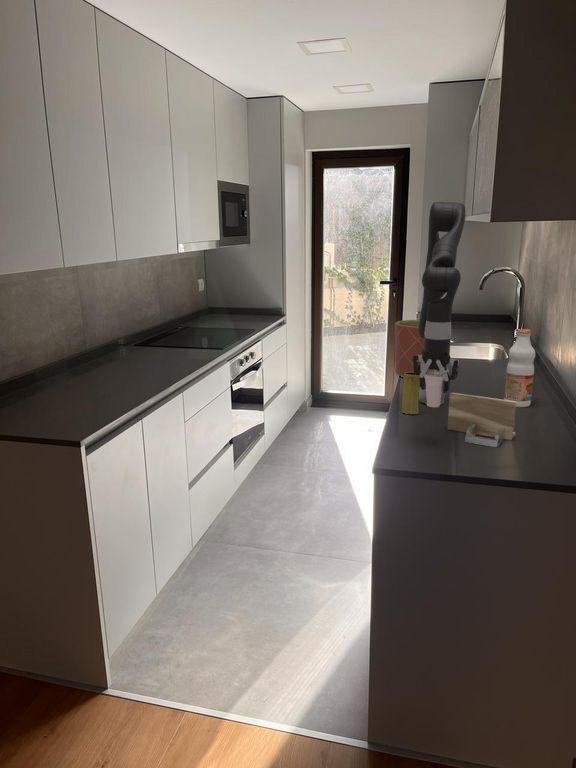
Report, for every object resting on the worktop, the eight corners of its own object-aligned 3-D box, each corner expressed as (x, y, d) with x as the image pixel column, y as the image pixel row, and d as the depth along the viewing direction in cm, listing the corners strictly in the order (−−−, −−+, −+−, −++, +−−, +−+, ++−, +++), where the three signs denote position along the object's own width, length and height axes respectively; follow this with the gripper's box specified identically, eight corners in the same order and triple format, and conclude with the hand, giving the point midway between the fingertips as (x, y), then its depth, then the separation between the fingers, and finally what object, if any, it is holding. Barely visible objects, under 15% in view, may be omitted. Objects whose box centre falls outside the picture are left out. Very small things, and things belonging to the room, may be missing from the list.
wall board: (452, 424, 196) (454, 389, 193) (515, 435, 186) (518, 398, 183) (447, 429, 192) (449, 393, 189) (511, 440, 182) (515, 402, 179)
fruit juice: (501, 400, 225) (508, 327, 218) (527, 401, 224) (535, 328, 217) (505, 407, 216) (512, 331, 210) (532, 408, 215) (540, 332, 208)
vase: (416, 409, 213) (418, 371, 210) (420, 414, 207) (422, 375, 204) (399, 410, 213) (401, 371, 209) (403, 415, 207) (405, 375, 203)
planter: (441, 370, 275) (444, 320, 269) (448, 382, 253) (452, 327, 247) (391, 369, 277) (393, 319, 271) (394, 380, 255) (397, 326, 250)
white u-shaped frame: (473, 433, 188) (473, 423, 187) (504, 438, 183) (505, 428, 182) (464, 441, 180) (465, 430, 179) (497, 447, 175) (498, 436, 175)
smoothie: (423, 408, 177) (425, 362, 173) (421, 402, 183) (424, 357, 179) (445, 409, 176) (448, 363, 172) (443, 402, 182) (445, 358, 178)
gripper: (465, 336, 173) (461, 391, 178) (418, 331, 181) (415, 384, 185) (458, 340, 167) (454, 397, 172) (409, 335, 175) (406, 390, 179)
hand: (434, 390), depth 178 cm, fingers closed on smoothie, 6 cm apart
